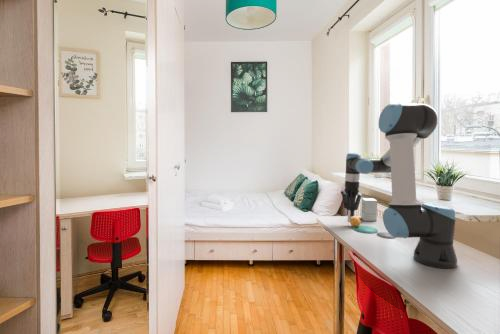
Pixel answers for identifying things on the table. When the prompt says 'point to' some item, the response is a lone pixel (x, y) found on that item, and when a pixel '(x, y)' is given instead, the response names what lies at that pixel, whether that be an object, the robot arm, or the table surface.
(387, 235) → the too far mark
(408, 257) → the table surface
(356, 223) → the ball
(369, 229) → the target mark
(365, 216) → the supplement box
